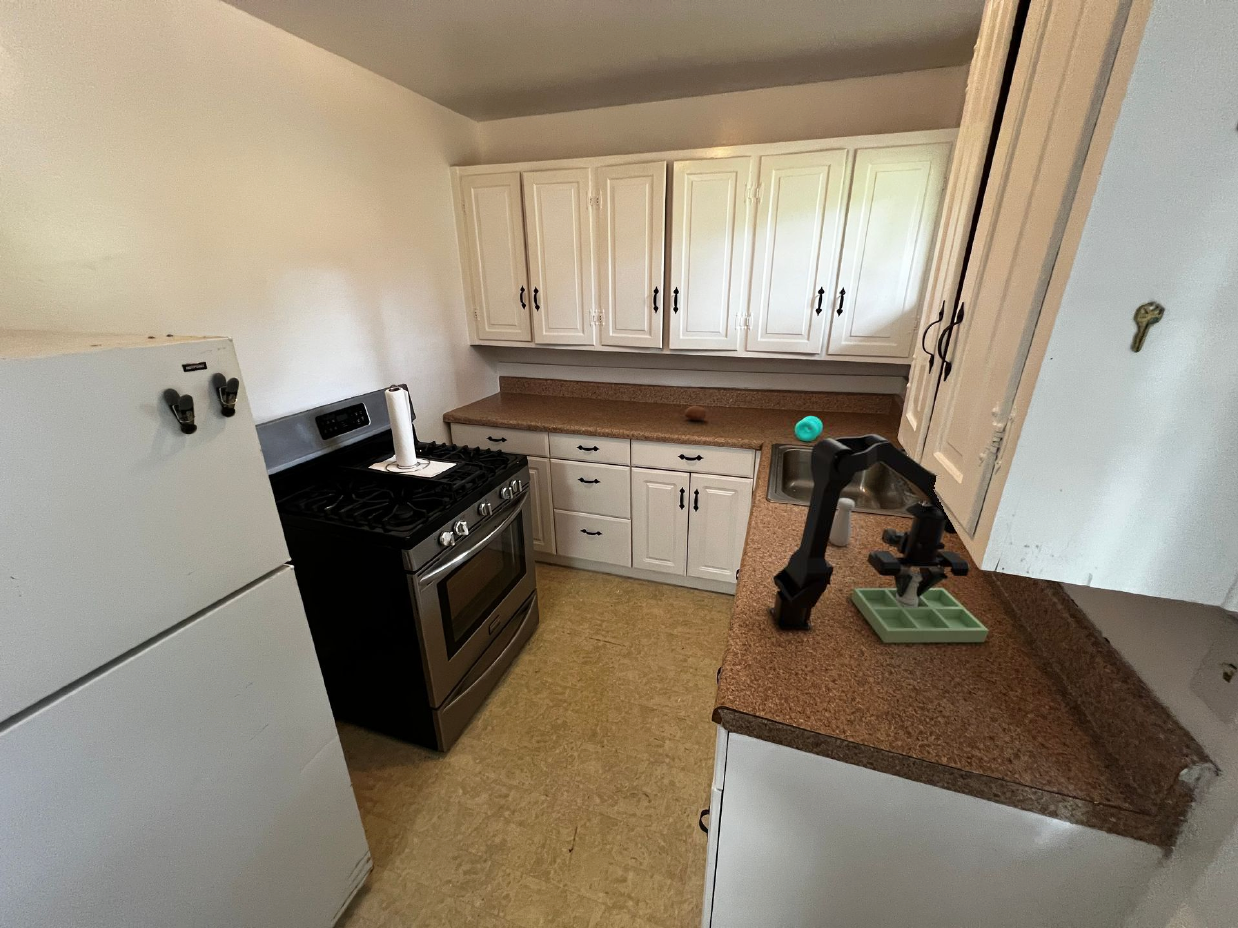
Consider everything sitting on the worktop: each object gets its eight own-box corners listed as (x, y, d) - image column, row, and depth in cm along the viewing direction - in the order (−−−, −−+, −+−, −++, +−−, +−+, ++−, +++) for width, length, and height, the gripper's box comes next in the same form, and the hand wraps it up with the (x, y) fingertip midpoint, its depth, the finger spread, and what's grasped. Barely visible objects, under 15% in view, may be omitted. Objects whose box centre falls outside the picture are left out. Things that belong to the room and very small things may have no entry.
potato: (707, 422, 240) (708, 408, 238) (686, 422, 240) (687, 408, 237) (704, 418, 248) (705, 404, 246) (683, 418, 248) (684, 404, 245)
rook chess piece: (896, 594, 108) (904, 564, 105) (919, 602, 106) (928, 572, 103) (892, 604, 105) (900, 573, 102) (915, 612, 102) (924, 581, 100)
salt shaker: (827, 545, 131) (835, 502, 126) (826, 535, 136) (834, 494, 131) (850, 549, 129) (859, 506, 124) (848, 539, 134) (857, 497, 129)
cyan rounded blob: (821, 438, 219) (825, 417, 215) (815, 444, 211) (819, 422, 208) (799, 434, 224) (802, 413, 221) (792, 439, 217) (795, 418, 213)
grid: (884, 642, 96) (887, 630, 95) (851, 598, 109) (853, 587, 108) (984, 642, 97) (988, 630, 95) (939, 598, 110) (943, 587, 108)
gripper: (944, 515, 107) (927, 574, 112) (862, 515, 106) (848, 574, 112) (980, 541, 96) (959, 605, 102) (889, 541, 96) (873, 605, 102)
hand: (908, 596), depth 105 cm, fingers closed on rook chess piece, 3 cm apart
